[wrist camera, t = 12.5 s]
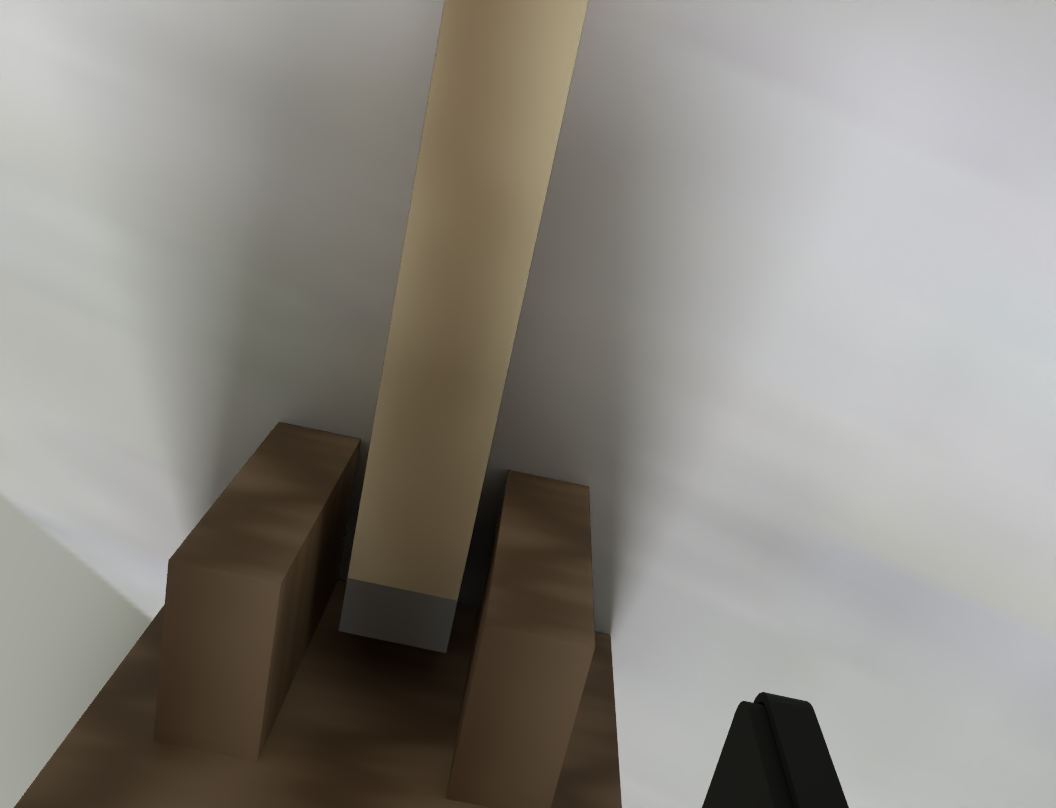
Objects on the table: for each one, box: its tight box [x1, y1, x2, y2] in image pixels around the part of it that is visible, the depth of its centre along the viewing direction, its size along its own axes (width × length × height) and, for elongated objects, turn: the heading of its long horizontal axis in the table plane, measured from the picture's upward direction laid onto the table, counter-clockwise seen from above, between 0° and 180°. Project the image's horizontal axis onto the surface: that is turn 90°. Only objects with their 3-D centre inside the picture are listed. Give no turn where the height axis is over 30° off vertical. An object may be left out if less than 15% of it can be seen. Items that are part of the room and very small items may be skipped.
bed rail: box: [339, 0, 588, 653], centre depth 29 cm, size 4×22×6 cm, turn 168°
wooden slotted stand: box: [14, 422, 622, 808], centre depth 28 cm, size 16×8×16 cm, turn 78°
